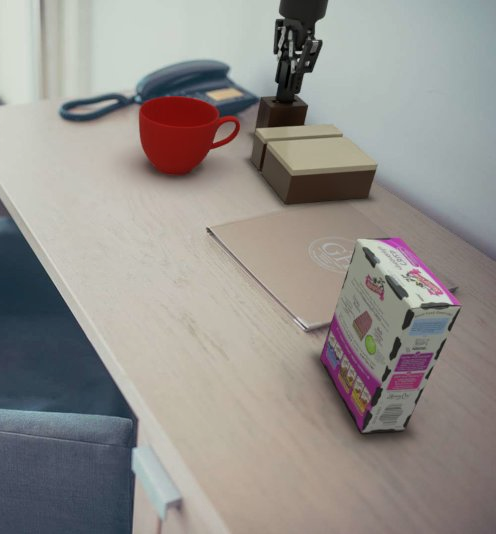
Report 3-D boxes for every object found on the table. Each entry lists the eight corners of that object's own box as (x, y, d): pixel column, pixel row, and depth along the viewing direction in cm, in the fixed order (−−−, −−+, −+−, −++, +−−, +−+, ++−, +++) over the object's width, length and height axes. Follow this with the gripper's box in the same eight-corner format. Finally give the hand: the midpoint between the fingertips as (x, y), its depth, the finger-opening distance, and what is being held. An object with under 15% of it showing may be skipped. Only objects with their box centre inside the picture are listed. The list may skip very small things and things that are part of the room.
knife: (281, 136, 121) (297, 59, 112) (286, 141, 119) (303, 64, 110) (266, 137, 120) (281, 60, 112) (271, 142, 118) (286, 64, 110)
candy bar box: (408, 431, 64) (466, 306, 55) (361, 435, 64) (411, 309, 54) (359, 354, 73) (402, 234, 64) (317, 356, 73) (354, 236, 63)
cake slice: (324, 154, 114) (332, 123, 111) (335, 165, 111) (343, 133, 108) (250, 159, 112) (255, 128, 109) (258, 170, 109) (264, 138, 106)
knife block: (288, 132, 122) (296, 94, 118) (299, 144, 118) (308, 105, 114) (253, 134, 121) (260, 96, 116) (263, 146, 117) (271, 107, 112)
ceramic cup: (242, 183, 105) (252, 126, 100) (140, 185, 104) (144, 128, 98) (225, 148, 116) (233, 95, 110) (131, 150, 115) (134, 96, 109)
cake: (338, 168, 110) (347, 136, 107) (368, 197, 102) (378, 164, 99) (261, 174, 108) (267, 141, 105) (285, 204, 100) (292, 170, 97)
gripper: (350, -4, 98) (324, 102, 109) (309, -25, 110) (290, 73, 120) (304, -3, 97) (283, 104, 107) (268, -24, 109) (251, 75, 119)
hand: (286, 87), depth 114 cm, fingers open, 4 cm apart
